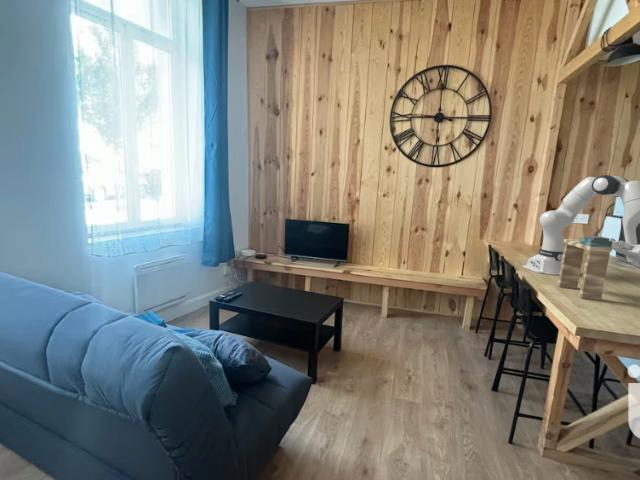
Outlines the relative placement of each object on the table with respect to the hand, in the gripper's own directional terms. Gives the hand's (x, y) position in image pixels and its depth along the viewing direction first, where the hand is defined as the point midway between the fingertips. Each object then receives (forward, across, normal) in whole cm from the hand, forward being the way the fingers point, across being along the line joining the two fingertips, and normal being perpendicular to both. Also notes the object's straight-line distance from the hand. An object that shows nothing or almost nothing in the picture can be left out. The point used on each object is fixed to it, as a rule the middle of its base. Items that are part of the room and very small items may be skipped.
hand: (615, 240), depth 171 cm
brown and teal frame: (-7, -6, +29) cm, 31 cm away
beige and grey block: (+2, 0, +4) cm, 5 cm away
